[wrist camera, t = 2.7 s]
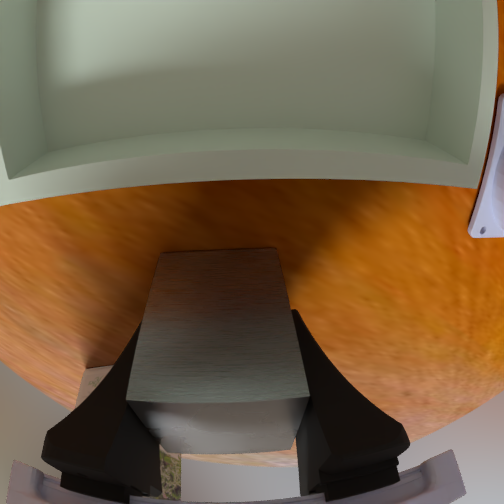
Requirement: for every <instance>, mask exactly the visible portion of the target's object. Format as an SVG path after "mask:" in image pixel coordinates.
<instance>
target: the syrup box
mask: <svg viewBox="0 0 504 504" xmlns="http://www.w3.org/2000/svg"><path fill="white" fill-rule="evenodd" d="M112 367H113V365H111V366H104V367H97V368H90V369H85V371H84V373H83V377H82V381H81V384H80V388H79V393H78V397H77V401H76V406H75V408H77V407H78V406H79V405H80V404H81V403H82V402H83V401H84V400H85V399H86V398H87V397H88V396H89V395H90V394H91V392H92V391H93V390H94V389H95V388H96V387H97V386H98V385H99V383H100V382H101V381H102V380H103V379H104V377H105V376H106V375H107V373H108V372H109V371H110V369H111V368H112ZM160 470H161V482H162V491H163V493H162V494H161V495H160V496H158V497H144V496H143V497H144V498H152V499H161V500H171V501H181V454H180V453H167V452H166V451H165V450H164V449H163V447H162V446H161V445H160Z"/></svg>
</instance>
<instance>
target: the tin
mask: <svg viewBox="0 0 504 504" xmlns="http://www.w3.org/2000/svg"><path fill="white" fill-rule="evenodd" d="M309 398H310V394H309V389H308V384H307V380H306V375H305V370H304V366H303V361H302V357H301V352H300V348H299V343H298V339H297V334H296V330H295V325H294V321H293V317H292V312H291V308H290V304H289V299H288V295H287V291H286V286H285V282H284V278H283V274H282V270H281V265H280V261H279V257H278V253H277V249H276V248H266V249H241V250H217V251H193V252H170V253H160V257H159V260H158V263H157V267H156V270H155V274H154V278H153V281H152V285H151V289H150V292H149V296H148V300H147V304H146V308H145V312H144V316H143V320H142V324H141V328H140V333H139V337H138V341H137V346H136V350H135V355H134V360H133V365H132V369H131V374H130V379H129V385H128V390H127V396H126V401H127V402H128V404H129V405H130V406H131V408H132V409H133V411H134V412H135V413H136V415H137V416H138V417H139V419H140V420H141V421H142V423H143V424H144V425H145V426H146V428H147V429H148V430H149V432H150V433H151V434H152V435H153V437H154V438H155V439H156V440H157V441H158V443H159V444H160V445H161V446H162V447H163V449H164V450H165V451H166V452H167V453H180V454H242V453H259V452H271V451H282V450H290V449H291V447H292V444H293V442H294V439H295V436H296V434H297V431H298V429H299V426H300V423H301V420H302V418H303V415H304V412H305V409H306V406H307V403H308V400H309Z"/></svg>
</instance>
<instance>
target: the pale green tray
mask: <svg viewBox="0 0 504 504" xmlns="http://www.w3.org/2000/svg"><path fill="white" fill-rule="evenodd" d="M497 69H498V12H497V0H0V206H2V205H7V204H13V203H18V202H23V201H29V200H35V199H41V198H47V197H54V196H60V195H67V194H74V193H82V192H89V191H97V190H106V189H115V188H124V187H134V186H145V185H156V184H169V183H183V182H199V181H218V180H243V179H352V180H376V181H395V182H410V183H424V184H435V185H446V186H456V187H465V188H474V189H477V187H478V184H479V180H480V176H481V172H482V168H483V164H484V159H485V155H486V150H487V145H488V140H489V135H490V129H491V123H492V117H493V110H494V102H495V93H496V83H497Z"/></svg>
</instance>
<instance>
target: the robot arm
mask: <svg viewBox="0 0 504 504" xmlns="http://www.w3.org/2000/svg"><path fill="white" fill-rule="evenodd" d="M468 233H469V234H470V235H471V236H472V237H473V238H487V237H504V94H501V95H500V97H499V99H498V105H497V113H496V120H495V126H494V132H493V137H492V142H491V147H490V152H489V157H488V161H487V165H486V170H485V174H484V177H483V181H482V185H481V189H480V192H479V196H478V199H477V202H476V206H475V209H474V212H473V215H472V218H471V221H470V224H469V227H468ZM291 312H292V317H293V321H294V325H295V330H296V334H297V339H298V343H299V348H300V352H301V357H302V361H303V366H304V370H305V375H306V380H307V384H308V389H309V394H310V398H309V400H308V403H307V406H306V409H305V412H304V415H303V418H302V420H301V423H300V426H299V429H298V431H297V434H296V436H295V437H296V446H297V457H298V468H299V482H300V494H301V497H294V498H286V499H277V500H267V501H254V502H229V503H228V502H226V503H212V502H211V503H210V502H209V503H208V502H185V501H171V500H161V499H152V498H144V497H158V496H160V495H161V494H162V493H163V491H162V482H161V470H160V444H159V443H158V441H157V440H156V439H155V438H154V437H153V435H152V434H151V433H150V432H149V430H148V429H147V428H146V426H145V425H144V424H143V423H142V421H141V420H140V419H139V417H138V416H137V415H136V413H135V412H134V411H133V409H132V408H131V406H130V405H129V404H128V402H127V401H126V396H127V390H128V385H129V379H130V374H131V369H132V365H133V360H134V355H135V350H136V346H137V341H138V337H139V333H140V328H141V324H142V321H141V323H140V324H139V326H138V328H137V330H136V331H135V333H134V335H133V336H132V338H131V340H130V341H129V343H128V344H127V346H126V347H125V349H124V351H123V352H122V354H121V355H120V357H119V358H118V360H117V361H116V362H115V364H114V365H113V367H112V368H111V369H110V371H109V372H108V373H107V375H106V376H105V377H104V379H103V380H102V381H101V382H100V383H99V385H98V386H97V387H96V388H95V389H94V390H93V391H92V392H91V394H90V395H89V396H88V397H87V398H86V399H85V400H84V401H83V402H82V403H81V404H80V405H79V406H78V407H77V408H75V409H74V410H73V411H72V412H71V413H70V414H69V415H68V416H67V417H65V418H64V419H63V420H62V421H60V422H59V423H58V424H56V425H55V426H54V427H52V428H51V429H50V430H48V431H47V434H46V437H45V441H44V446H43V450H42V455H41V458H42V459H43V460H44V461H45V462H46V463H48V464H49V465H51V466H53V467H55V468H56V469H58V470H60V471H61V472H62V475H61V479H59V478H56V477H53V476H50V475H47V474H44V473H43V472H41V471H40V470H38V469H36V468H34V467H32V466H29V465H26V464H24V463H22V462H19V461H17V460H14V461H13V465H12V470H11V475H10V481H9V487H8V493H7V500H6V503H7V504H449V503H451V502H453V501H455V500H457V499H458V498H460V497H462V496H464V495H465V494H466V490H465V486H464V483H463V480H462V477H461V473H460V470H459V467H458V464H457V461H456V459H455V455H454V452H453V450H448V451H446V452H444V453H442V454H439V455H437V456H435V457H432V458H430V459H428V460H426V461H424V462H423V463H422V464H421V465H419V466H417V467H414V468H411V469H408V470H405V471H403V472H400V473H398V470H397V465H398V464H399V461H398V458H397V456H399V455H400V454H401V453H403V452H404V451H405V450H407V448H409V446H410V441H409V438H408V436H407V433H406V431H405V429H404V427H403V425H402V424H401V423H399V422H398V421H396V420H395V419H393V418H391V417H390V416H389V415H387V414H386V413H384V412H383V411H382V410H380V409H379V408H378V407H376V406H375V405H374V404H373V403H371V402H370V401H369V400H368V399H367V398H366V397H364V396H363V395H362V394H361V393H360V392H359V391H358V390H357V389H355V388H354V387H353V386H352V385H351V384H350V383H349V382H348V381H347V379H346V378H345V377H344V376H343V375H342V374H341V373H340V372H339V371H338V370H337V368H336V367H335V366H334V365H333V364H332V362H331V361H330V360H329V359H328V357H327V356H326V355H325V353H324V352H323V351H322V349H321V348H320V346H319V345H318V344H317V342H316V341H315V339H314V338H313V336H312V335H311V333H310V331H309V330H308V328H307V327H306V325H305V323H304V321H303V320H302V318H301V316H300V314H299V312H298V311H297V310H296V309H294V310H291ZM142 320H143V319H142ZM143 496H144V497H143Z"/></svg>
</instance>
